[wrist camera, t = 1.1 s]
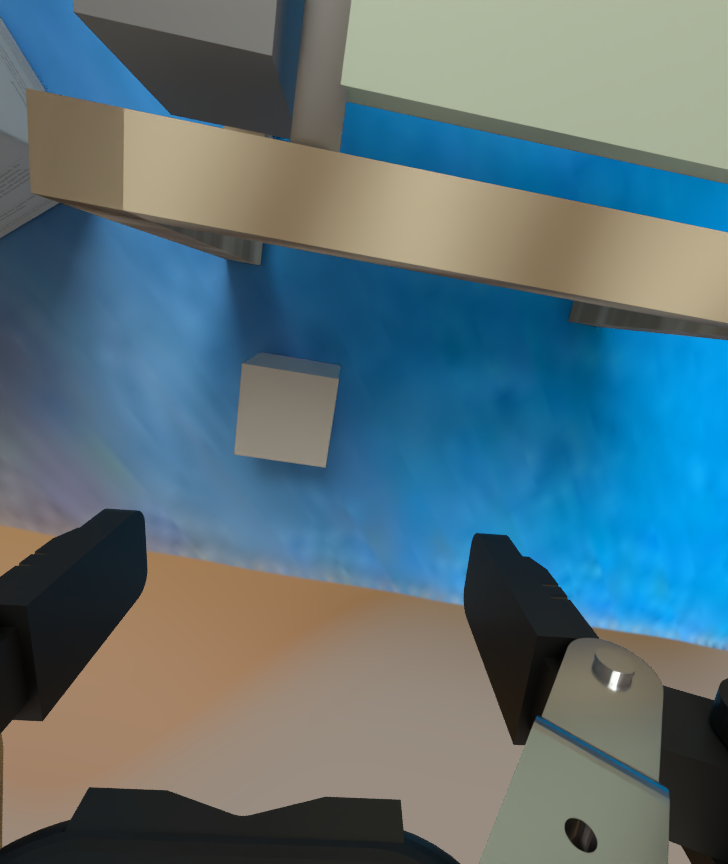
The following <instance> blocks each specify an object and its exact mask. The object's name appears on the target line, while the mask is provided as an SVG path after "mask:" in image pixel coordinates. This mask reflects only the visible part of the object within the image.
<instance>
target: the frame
mask: <svg viewBox="0 0 728 864" xmlns="http://www.w3.org/2000/svg"><path fill="white" fill-rule="evenodd" d="M26 102H27V122H28V143H29V164H30V185H31V193H33V194H36V195H39V196H42V197H44V198H47V199H50V200H53V201H56V202H59V203H62V204H65V205H68V206H71V207H74V208H77V209H80V210H83V211H86V212H89V213H91V214H94V215H97V216H100V217H103V218H106V219H109V220H112V221H115V222H118V223H121V224H124V225H127V226H130V227H133V228H136V229H138V230H141V231H144V232H147V233H150V234H153V235H156V236H159V237H162V238H165V239H168V240H171V241H174V242H177V243H180V244H183V245H185V246H188V247H191V248H194V249H197V250H200V251H203V252H206V253H209V254H212V255H215V256H218V257H221V258H224V259H227V260H233V261H238V262H244V263H249V264H255V265H260V266H261V256H262V246H263V243H267V244H273V245H278V246H283V247H289V248H294V249H299V250H305V251H310V252H316V253H321V254H326V255H332V256H337V257H343V258H348V259H353V260H359V261H364V262H370V263H375V264H380V265H386V266H391V267H396V268H402V269H407V270H413V271H418V272H423V273H429V274H434V275H440V276H445V277H450V278H456V279H461V280H467V281H472V282H477V283H483V284H488V285H493V286H499V287H504V288H510V289H515V290H520V291H526V292H531V293H537V294H542V295H547V296H553V297H558V298H563V299H569V300H574V303H573V306H572V310H571V313H570V316H569V320H568V321H569V322H575V323H580V324H586V325H591V326H597V327H606V328H615V329H625V330H635V331H644V332H654V333H664V334H673V335H683V336H693V337H702V338H712V339H722V340H728V233H727V232H723V231H718V230H713V229H708V228H703V227H698V226H693V225H689V224H684V223H679V222H674V221H669V220H664V219H659V218H655V217H650V216H645V215H640V214H635V213H630V212H626V211H621V210H616V209H611V208H606V207H601V206H596V205H592V204H587V203H582V202H577V201H572V200H567V199H562V198H558V197H553V196H548V195H543V194H538V193H533V192H528V191H524V190H519V189H514V188H509V187H504V186H499V185H494V184H490V183H485V182H480V181H475V180H470V179H465V178H460V177H456V176H451V175H446V174H441V173H436V172H431V171H426V170H422V169H417V168H412V167H407V166H402V165H397V164H392V163H388V162H383V161H378V160H373V159H368V158H363V157H358V156H354V155H349V154H344V153H339V152H334V151H329V150H324V149H320V148H315V147H310V146H305V145H300V144H295V143H290V142H286V141H281V140H276V139H273V136H272V135H268V134H263V133H258V132H253V131H248V130H243V129H239V128H234V127H229V126H224V129H223V128H218V127H213V126H208V125H203V124H198V123H193V122H189V121H184V120H179V119H174V118H169V117H164V116H159V115H155V114H150V113H145V112H140V111H135V110H130V109H125V108H121V107H116V106H111V105H106V104H101V103H96V102H91V101H87V100H82V99H77V98H72V97H67V96H62V95H57V94H53V93H48V92H43V91H38V90H33V89H28V88H26Z"/></svg>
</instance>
